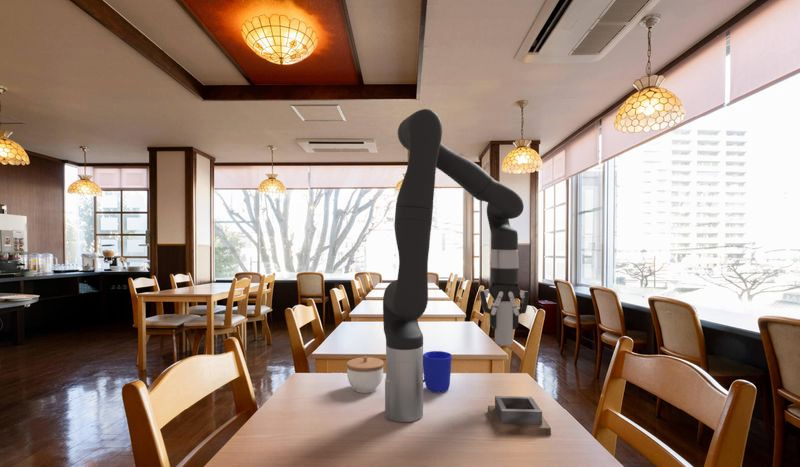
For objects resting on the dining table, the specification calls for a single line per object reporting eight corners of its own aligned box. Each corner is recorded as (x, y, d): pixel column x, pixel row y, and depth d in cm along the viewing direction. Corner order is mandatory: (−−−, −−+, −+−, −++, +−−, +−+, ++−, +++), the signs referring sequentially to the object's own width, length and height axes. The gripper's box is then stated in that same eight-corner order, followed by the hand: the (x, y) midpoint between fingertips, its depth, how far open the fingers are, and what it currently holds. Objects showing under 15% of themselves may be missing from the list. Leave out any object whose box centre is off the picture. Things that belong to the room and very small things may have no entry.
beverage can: (514, 346, 113) (515, 301, 113) (496, 346, 113) (497, 301, 113) (510, 342, 118) (510, 299, 118) (493, 342, 118) (493, 299, 118)
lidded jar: (382, 396, 117) (382, 362, 117) (344, 396, 117) (344, 362, 117) (384, 382, 127) (384, 351, 127) (349, 382, 127) (349, 351, 127)
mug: (411, 383, 127) (411, 349, 127) (452, 385, 125) (452, 351, 125) (408, 393, 119) (408, 357, 119) (451, 395, 117) (451, 359, 117)
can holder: (496, 433, 94) (496, 413, 94) (487, 411, 106) (487, 393, 106) (550, 435, 94) (550, 414, 94) (536, 412, 106) (536, 394, 106)
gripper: (480, 266, 112) (479, 331, 112) (534, 267, 111) (534, 332, 111) (476, 265, 119) (475, 325, 119) (527, 265, 119) (526, 326, 119)
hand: (504, 328), depth 115 cm, fingers closed on beverage can, 5 cm apart
